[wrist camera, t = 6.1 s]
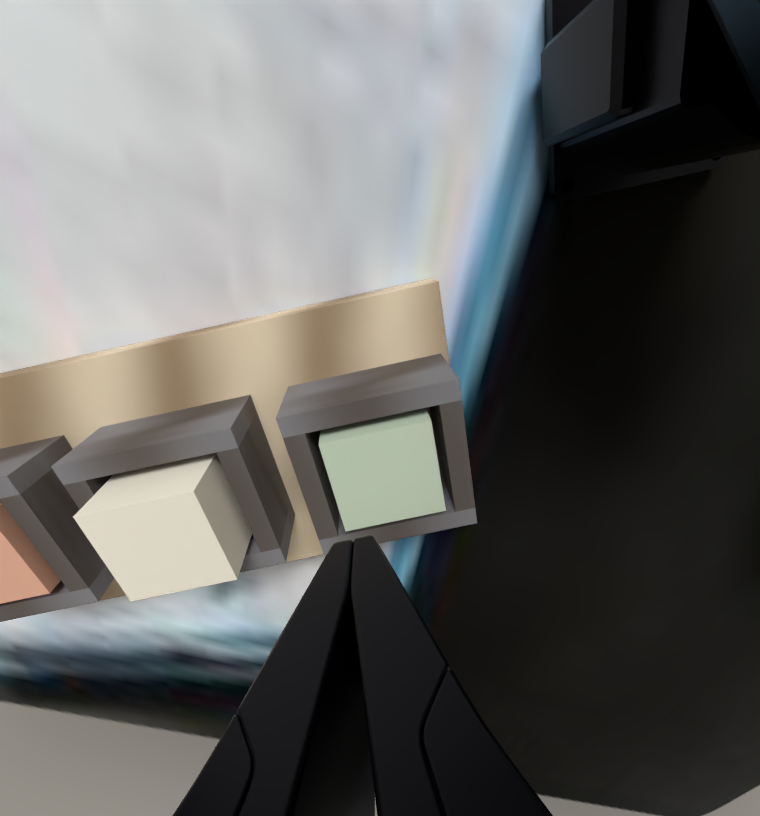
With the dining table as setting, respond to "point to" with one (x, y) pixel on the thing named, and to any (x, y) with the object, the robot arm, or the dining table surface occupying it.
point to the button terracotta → (21, 564)
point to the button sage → (383, 469)
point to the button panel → (230, 426)
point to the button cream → (168, 527)
